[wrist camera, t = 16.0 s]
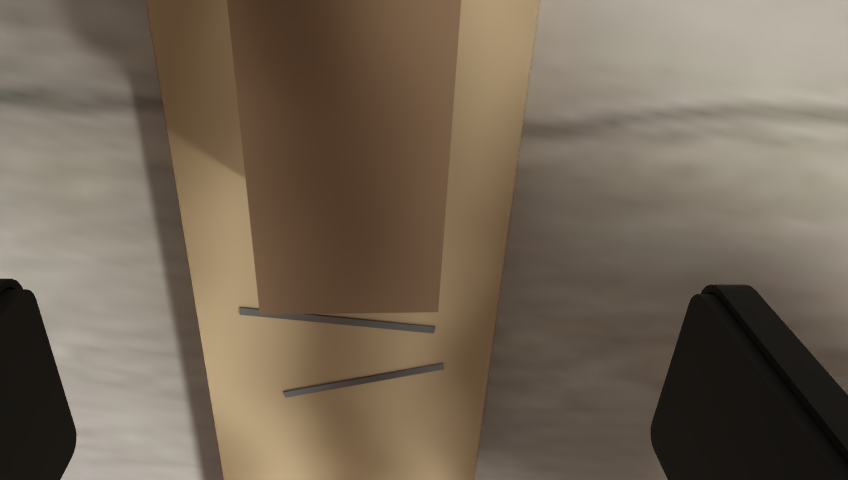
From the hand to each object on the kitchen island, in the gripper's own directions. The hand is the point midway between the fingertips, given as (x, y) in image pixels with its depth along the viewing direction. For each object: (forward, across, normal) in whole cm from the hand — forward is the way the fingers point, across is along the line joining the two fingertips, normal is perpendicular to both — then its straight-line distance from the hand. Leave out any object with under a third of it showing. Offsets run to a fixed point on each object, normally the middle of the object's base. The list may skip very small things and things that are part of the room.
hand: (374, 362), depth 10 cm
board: (+14, +1, +7) cm, 16 cm away
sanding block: (+12, +1, 0) cm, 12 cm away
